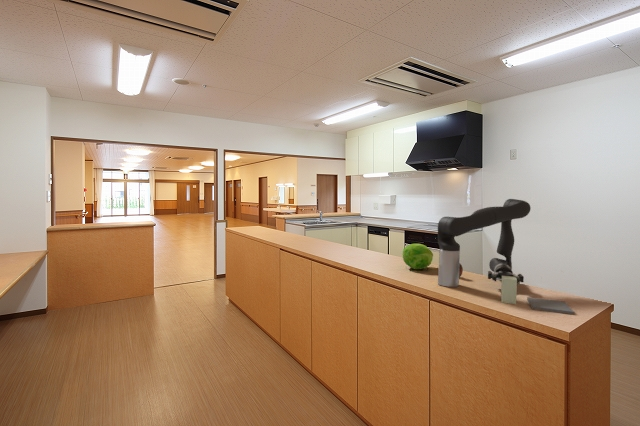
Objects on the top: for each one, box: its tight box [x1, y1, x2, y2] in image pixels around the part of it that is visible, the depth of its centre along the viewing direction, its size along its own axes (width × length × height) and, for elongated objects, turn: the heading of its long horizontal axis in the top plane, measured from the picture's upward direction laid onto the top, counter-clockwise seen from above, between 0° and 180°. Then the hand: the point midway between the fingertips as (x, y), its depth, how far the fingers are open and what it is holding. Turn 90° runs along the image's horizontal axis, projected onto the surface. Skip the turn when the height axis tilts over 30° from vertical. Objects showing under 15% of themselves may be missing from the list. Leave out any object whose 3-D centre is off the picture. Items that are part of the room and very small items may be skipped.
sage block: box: [500, 276, 518, 305], centre depth 134 cm, size 5×5×10 cm
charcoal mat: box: [526, 296, 575, 315], centre depth 128 cm, size 13×13×1 cm
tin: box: [459, 262, 464, 278], centre depth 177 cm, size 15×3×8 cm, turn 21°
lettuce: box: [402, 243, 434, 270], centre depth 194 cm, size 17×20×15 cm
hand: (506, 280), depth 144 cm, fingers open, 8 cm apart
